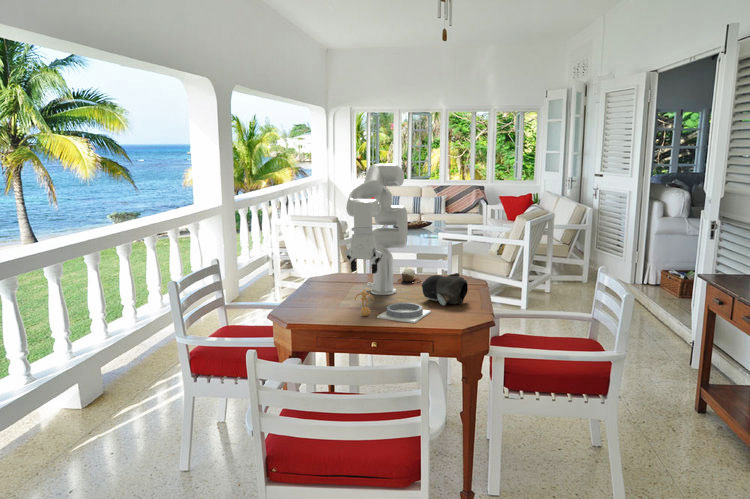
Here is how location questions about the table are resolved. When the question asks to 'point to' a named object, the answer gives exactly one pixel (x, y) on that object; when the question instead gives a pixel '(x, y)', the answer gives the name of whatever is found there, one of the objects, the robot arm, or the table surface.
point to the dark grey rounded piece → (445, 289)
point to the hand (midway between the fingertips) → (364, 272)
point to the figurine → (365, 310)
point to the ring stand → (404, 312)
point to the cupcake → (408, 276)
